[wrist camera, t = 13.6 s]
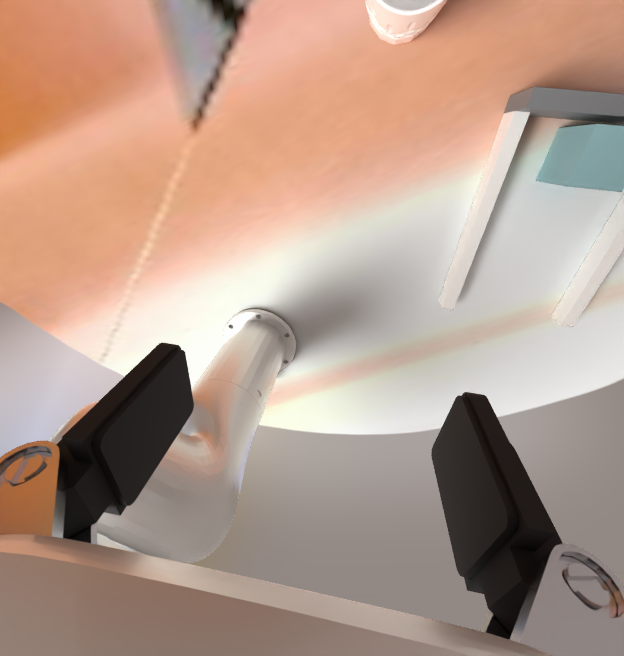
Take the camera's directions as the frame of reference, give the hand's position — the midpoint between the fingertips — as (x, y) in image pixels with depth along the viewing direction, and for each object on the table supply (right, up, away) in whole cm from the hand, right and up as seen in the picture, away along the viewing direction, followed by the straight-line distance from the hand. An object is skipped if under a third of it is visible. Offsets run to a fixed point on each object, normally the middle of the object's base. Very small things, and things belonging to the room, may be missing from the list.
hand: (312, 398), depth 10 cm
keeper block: (+28, +21, +22) cm, 41 cm away
